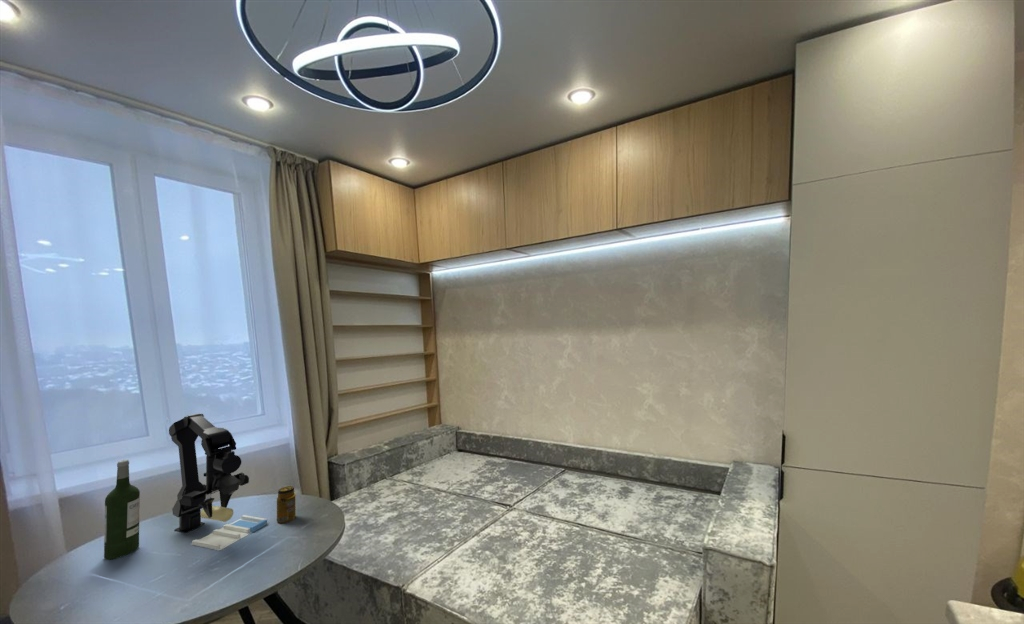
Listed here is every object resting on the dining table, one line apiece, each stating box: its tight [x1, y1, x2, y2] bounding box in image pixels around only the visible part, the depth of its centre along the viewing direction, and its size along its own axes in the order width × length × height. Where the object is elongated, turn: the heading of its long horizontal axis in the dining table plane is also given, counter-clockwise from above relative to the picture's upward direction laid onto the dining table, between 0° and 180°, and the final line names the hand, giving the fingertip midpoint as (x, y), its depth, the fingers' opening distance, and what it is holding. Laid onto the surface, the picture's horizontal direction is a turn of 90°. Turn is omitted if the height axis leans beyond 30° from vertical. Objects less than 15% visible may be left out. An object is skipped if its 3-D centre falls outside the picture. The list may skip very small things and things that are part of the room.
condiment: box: [276, 485, 297, 525], centre depth 137 cm, size 7×8×12 cm
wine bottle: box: [103, 459, 141, 561], centre depth 121 cm, size 8×8×30 cm
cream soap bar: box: [200, 505, 234, 523], centre depth 125 cm, size 10×4×4 cm, turn 73°
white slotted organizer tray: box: [190, 514, 270, 551], centre depth 130 cm, size 14×18×2 cm
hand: (216, 514), depth 125 cm, fingers closed on cream soap bar, 4 cm apart
